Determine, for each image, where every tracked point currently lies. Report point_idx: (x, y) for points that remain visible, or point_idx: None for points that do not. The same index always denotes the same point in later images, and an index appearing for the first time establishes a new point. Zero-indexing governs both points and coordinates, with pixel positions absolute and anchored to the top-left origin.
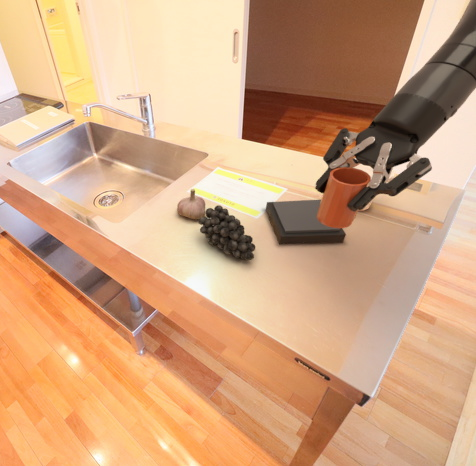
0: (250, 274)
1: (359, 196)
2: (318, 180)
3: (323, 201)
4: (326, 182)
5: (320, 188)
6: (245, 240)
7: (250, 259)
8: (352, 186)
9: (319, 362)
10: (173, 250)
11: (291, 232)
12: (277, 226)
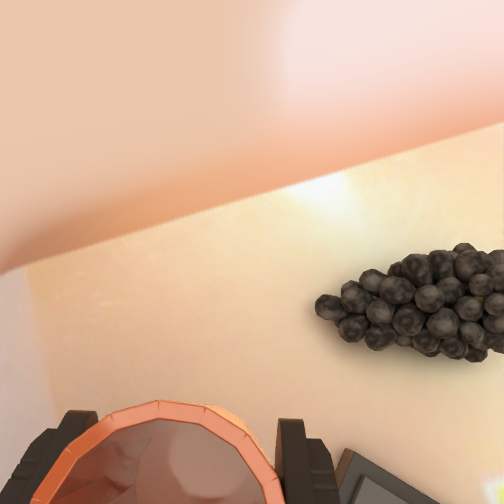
0: (291, 299)
1: (44, 463)
2: (327, 463)
3: (228, 413)
4: (282, 478)
5: (279, 433)
6: (369, 312)
7: (315, 302)
8: (75, 442)
9: (57, 256)
10: (443, 199)
11: (354, 495)
12: (401, 481)
